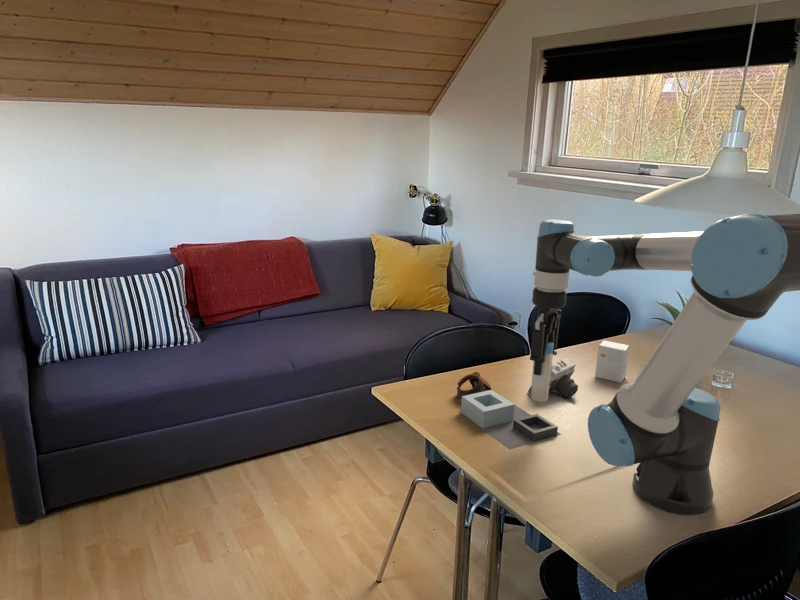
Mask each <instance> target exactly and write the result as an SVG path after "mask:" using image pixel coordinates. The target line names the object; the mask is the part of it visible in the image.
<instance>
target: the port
mask: <svg viewBox="0 0 800 600" xmlns="http://www.w3.org/2000/svg"><path fill="white" fill-rule="evenodd" d="M514 405H516V404H515V403H513V402H511V401H510V400H508V399H507V398H505V397H503V396H502V395H500V394H499V393H497V392H496V391H494V390H493V389H492V390H488V391H484V392H477V393H475V394H470V395H466V396H462V399H461V405H460V411H461V413H463V414H464V415H465V416H467V417H468V418H469V419H471V420H472V421H473V422H475V423H476V424H478V425H479V426H480V427H482V428H486V427H490V426H494V425H498V424H502V423H505V422H509V421H513V416H514ZM461 413H460V414H461ZM463 414H462V415H463ZM464 415H463V416H464ZM465 416H464V417H465ZM467 417H466V418H467ZM468 418H467V419H468ZM469 419H468V420H469ZM471 420H470V421H471ZM472 421H471V422H472ZM473 422H472V423H473ZM475 423H474V424H475ZM476 424H475V425H476ZM478 425H477V426H478ZM479 426H478V427H479ZM480 427H479V428H480ZM482 428H481V429H482Z"/></svg>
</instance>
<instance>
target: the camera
mask: <svg viewBox="0 0 800 600" xmlns="http://www.w3.org/2000/svg"><path fill="white" fill-rule="evenodd" d="M576 369H577V364H576V363H575V362H574V360H573V359H572V358H571V359H569V358H568V357H565V358H562V359H559V360H558V361H555V362H552V369H551V378H550V384H549V393H553V392H557V393H558V395H559V396H562V397H564V398H565V399H570V398H572V397H573V396H574V395H575V394H576V393H577V392H578V390H579V389H578V388H579V385H578V384H576V382H575V380H574V378H571V377H572V375H573V374H574V373H575V371H576ZM531 391H532V386H530V387H529V389H528V390H527V395H528V396H530V397H531Z"/></svg>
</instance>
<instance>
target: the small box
mask: <svg viewBox="0 0 800 600" xmlns="http://www.w3.org/2000/svg"><path fill="white" fill-rule="evenodd" d="M629 352H630V344H629V345H628V344H623V343H619V342H615V341H614V342H613V341H609V340H605V339H603V340H602V342H601V343H599V345H598V350H597V358H596V365H595V367H596V368H595V375H594V376H595V378H598V379H603V380H607V381H612V382H615V383H620V384H622V382H623V381H624V380H625V378H626V374H627V367H628V361H629V360H628V359H629Z"/></svg>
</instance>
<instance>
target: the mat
mask: <svg viewBox="0 0 800 600" xmlns="http://www.w3.org/2000/svg"><path fill="white" fill-rule="evenodd" d="M458 413H460V414H462V416H464V417H466V418H467V419H468V420H469V421H471V422H472V423H474V425H476V426H477V427H479V428H480V429H482V430H483V431H484V432H486V433H487V434H488V435H489V436H491V437H493V438H494V439H495V440H497V442H499V443H500V444H502V445H503V446H505V447H506V448H507V449H509V450H512V449H515V448H519V447H523V446H526V445H529V444H534V443H537V442H540V441H543V440H547V439H551V438H554V437H558V436H561V435H562V433H560V432H559V431H557V435H555V436H552V437H548V438H545V439H541V440H538V441H534V442H533V441H531V440H530V439H528V438H527V437H526V436H524V435H523V434H521V433H520V432H518V431H517V430H515V429H514V428H513V422H514V420H515V419H519V418H523V417H526V416H530V415H531V414H530V413H528V412H527V411H525V410H524V409H522V408H520V407H519V406H518V405H516V404H515V405H514V416H513V421H509V422H505V423H502V424H498V425H494V426H490V427H486V428H482V427H480V426H479V425H478V424H476V423H475V422H473V421H472V420H471V419H469V418H468V417H467V416H465V415H464V414H463V413H461V410H458ZM528 427H530V428H531V429H533V430H534V431H535V430H539V429H542V428H541V427H539V426H538V425H536V424H535V425H531V426H528Z"/></svg>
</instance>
